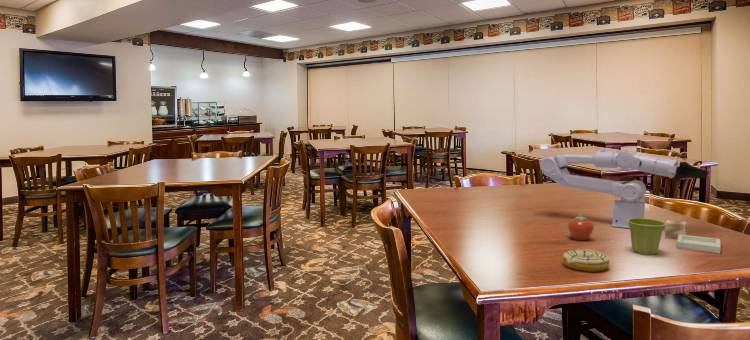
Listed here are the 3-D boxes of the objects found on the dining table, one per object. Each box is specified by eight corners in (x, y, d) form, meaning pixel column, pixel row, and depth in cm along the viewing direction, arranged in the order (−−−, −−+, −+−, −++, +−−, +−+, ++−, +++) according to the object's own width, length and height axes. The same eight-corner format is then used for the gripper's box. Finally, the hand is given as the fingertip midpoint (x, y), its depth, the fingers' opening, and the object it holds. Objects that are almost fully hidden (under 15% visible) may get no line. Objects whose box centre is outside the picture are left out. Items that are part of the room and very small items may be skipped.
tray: (676, 247, 130) (676, 241, 130) (678, 240, 138) (678, 234, 138) (720, 253, 125) (720, 247, 124) (719, 244, 133) (719, 238, 132)
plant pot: (659, 248, 130) (661, 218, 129) (668, 258, 121) (670, 226, 120) (623, 246, 133) (624, 217, 132) (629, 255, 124) (630, 224, 123)
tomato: (570, 234, 147) (570, 210, 146) (595, 237, 143) (596, 212, 142) (564, 239, 141) (565, 214, 140) (590, 243, 137) (591, 217, 136)
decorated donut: (561, 259, 123) (561, 245, 122) (605, 262, 119) (605, 248, 119) (564, 271, 113) (564, 256, 113) (612, 275, 110) (612, 260, 109)
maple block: (664, 238, 141) (665, 222, 140) (666, 235, 145) (666, 219, 144) (684, 240, 138) (685, 224, 137) (685, 237, 142) (685, 221, 141)
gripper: (655, 153, 143) (707, 162, 135) (663, 154, 155) (711, 162, 146) (650, 174, 144) (701, 185, 136) (658, 174, 156) (705, 183, 147)
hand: (706, 174), depth 141 cm, fingers open, 7 cm apart
